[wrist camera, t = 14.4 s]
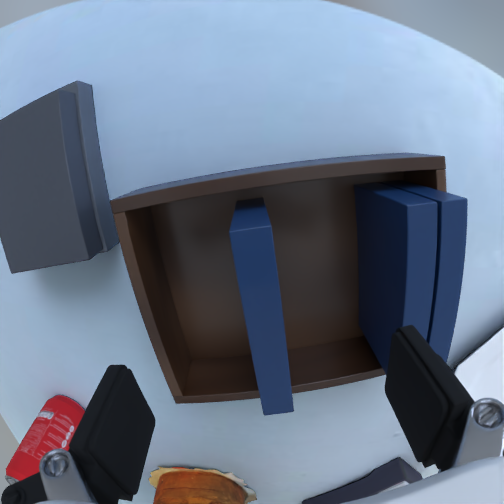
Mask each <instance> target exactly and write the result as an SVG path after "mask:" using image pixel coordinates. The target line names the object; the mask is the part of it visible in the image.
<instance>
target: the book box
mask: <svg viewBox="0 0 504 504" xmlns="http://www.w3.org/2000/svg"><path fill="white" fill-rule="evenodd" d="M445 169H446V164H445V156H437V155H427V154H415V153H393V154H376V155H362V156H349V157H338V158H327V159H318V160H308V161H300V162H291V163H283V164H276V165H268V166H261V167H254V168H248V169H241V170H235V171H229V172H223V173H217V174H211V175H205V176H200V177H194V178H189V179H184V180H179V181H174V182H169V183H164V184H159V185H154V186H150V187H145V188H141V189H138V190H135V191H133V192H130V193H128V194H125V195H123V196H120V197H118V198H115V199H113V200H111V201H110V204H111V208H112V213H113V217H114V221H115V225H116V229H117V233H118V237H119V241H120V245H121V249H122V252H123V256H124V260H125V263H126V267H127V270H128V274H129V277H130V280H131V284H132V287H133V290H134V293H135V296H136V300H137V303H138V306H139V309H140V312H141V315H142V318H143V321H144V324H145V326H146V329H147V332H148V335H149V338H150V340H151V343H152V346H153V348H154V351H155V354H156V356H157V359H158V362H159V364H160V367H161V369H162V372H163V374H164V377H165V379H166V381H167V384H168V386H169V389H170V391H171V393H172V396H173V398H174V400H175V402H176V404H180V403H205V402H221V401H234V400H245V399H255V398H260V395H259V390H258V385H257V380H256V375H255V370H254V365H253V360H252V354H251V349H250V344H249V339H248V334H247V329H246V323H245V318H244V313H243V308H242V302H241V297H240V292H239V286H238V281H237V275H236V270H235V264H234V259H233V253H232V248H231V242H230V237H229V230H230V226H231V222H232V218H233V214H234V210H235V206H236V202H237V201H242V200H249V199H255V198H263V199H264V202H265V206H266V209H267V213H268V216H269V219H270V223H271V226H272V234H273V241H274V248H275V256H276V263H277V271H278V279H279V287H280V295H281V303H282V311H283V319H284V327H285V336H286V344H287V353H288V362H289V370H290V379H291V389H292V394H293V393H300V392H306V391H312V390H318V389H323V388H328V387H333V386H338V385H343V384H348V383H353V382H357V381H362V380H366V379H370V378H374V377H378V376H382V375H386V374H385V372H384V370H383V368H382V366H381V365H380V363H379V361H378V359H377V357H376V355H375V354H374V352H373V350H372V348H371V346H370V345H369V343H368V341H367V339H366V337H365V336H364V334H363V332H362V330H361V329H360V327H359V268H358V239H357V221H356V206H355V193H354V185H355V184H364V183H374V182H377V183H380V182H385V181H396V180H403V181H407V182H411V183H414V184H418V185H422V186H426V187H429V188H433V189H436V190H440V191H443V192H446V170H445Z"/></svg>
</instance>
